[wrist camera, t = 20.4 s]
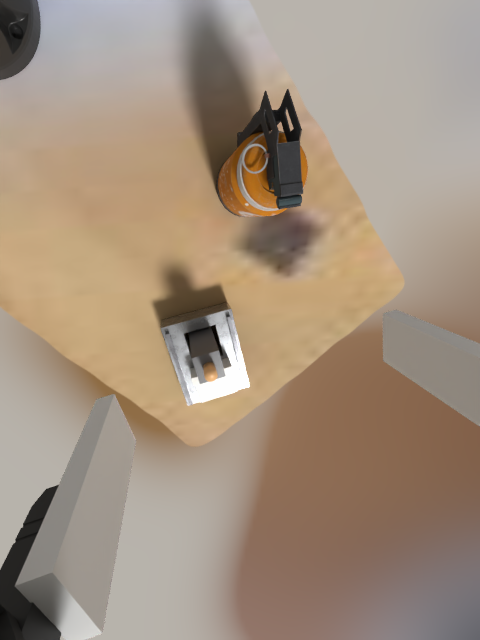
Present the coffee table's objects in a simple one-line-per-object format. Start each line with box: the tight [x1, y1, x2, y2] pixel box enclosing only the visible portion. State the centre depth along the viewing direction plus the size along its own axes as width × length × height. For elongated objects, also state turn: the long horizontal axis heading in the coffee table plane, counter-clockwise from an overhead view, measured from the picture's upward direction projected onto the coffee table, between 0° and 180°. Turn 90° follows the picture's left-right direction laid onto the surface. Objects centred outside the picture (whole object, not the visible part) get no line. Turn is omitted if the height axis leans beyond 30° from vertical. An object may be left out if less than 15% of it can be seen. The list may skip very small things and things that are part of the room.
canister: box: [217, 89, 308, 217], centre depth 35 cm, size 9×11×20 cm
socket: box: [161, 302, 249, 405], centre depth 50 cm, size 16×12×5 cm
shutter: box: [190, 357, 237, 403], centre depth 49 cm, size 7×7×3 cm
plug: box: [189, 326, 226, 384], centre depth 45 cm, size 4×4×14 cm
